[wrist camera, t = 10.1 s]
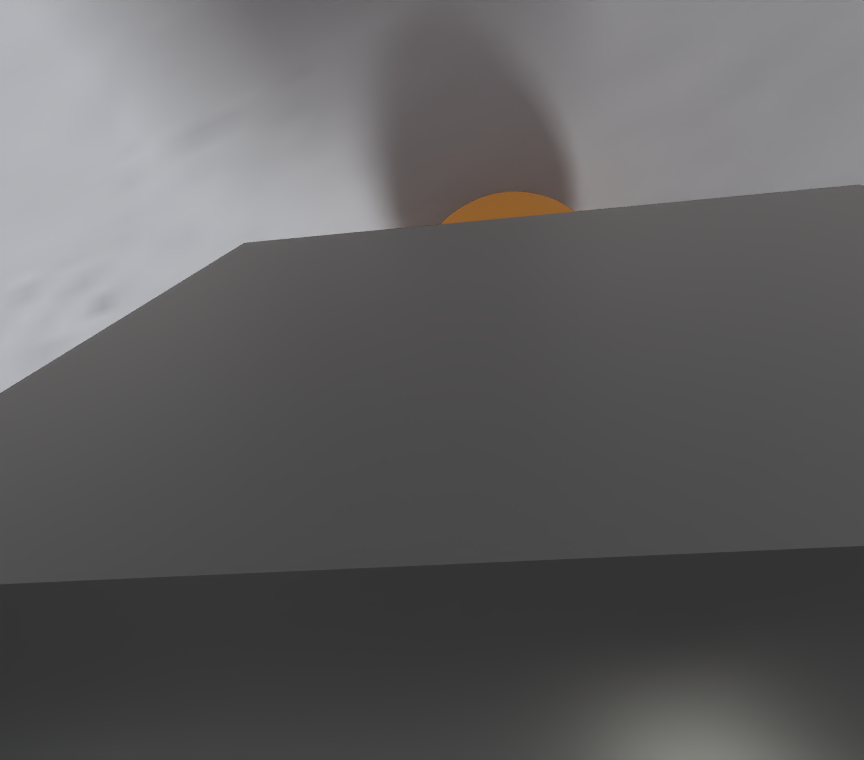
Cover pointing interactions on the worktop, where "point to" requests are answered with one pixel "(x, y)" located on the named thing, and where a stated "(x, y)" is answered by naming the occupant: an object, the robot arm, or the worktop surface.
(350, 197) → the worktop surface
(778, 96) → the worktop surface
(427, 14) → the worktop surface
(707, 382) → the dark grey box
